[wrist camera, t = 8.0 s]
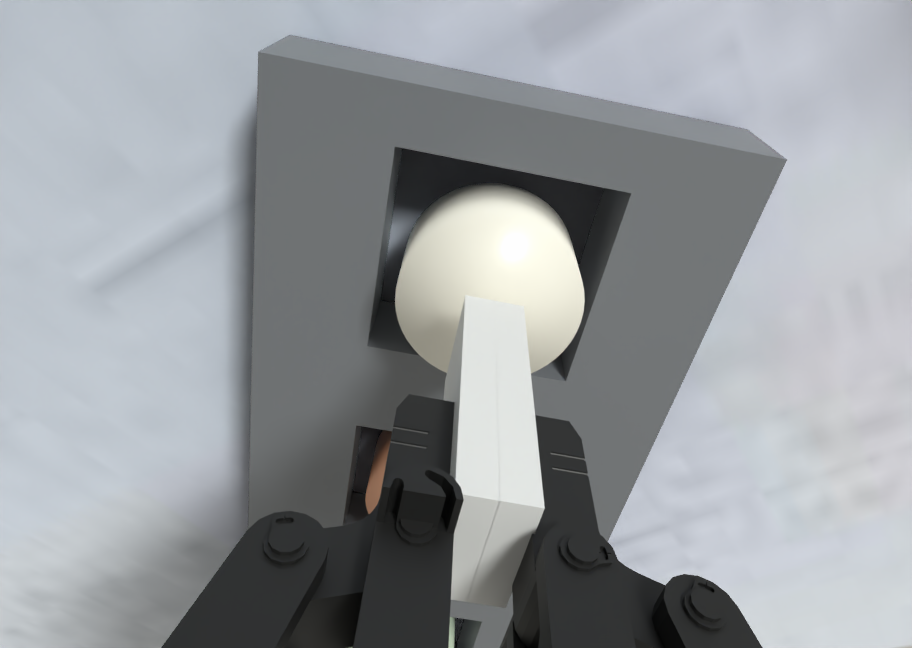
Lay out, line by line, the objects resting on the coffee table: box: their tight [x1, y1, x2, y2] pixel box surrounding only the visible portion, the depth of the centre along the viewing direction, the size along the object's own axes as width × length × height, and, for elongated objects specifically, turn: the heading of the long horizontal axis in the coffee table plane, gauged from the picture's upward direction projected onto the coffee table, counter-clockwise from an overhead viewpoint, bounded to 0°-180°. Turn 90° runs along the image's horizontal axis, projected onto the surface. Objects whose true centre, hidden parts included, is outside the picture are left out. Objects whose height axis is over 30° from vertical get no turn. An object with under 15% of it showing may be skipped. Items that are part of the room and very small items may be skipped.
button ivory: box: [395, 183, 585, 373], centre depth 19 cm, size 5×5×3 cm
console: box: [248, 35, 787, 648], centre depth 26 cm, size 14×30×3 cm, turn 169°
